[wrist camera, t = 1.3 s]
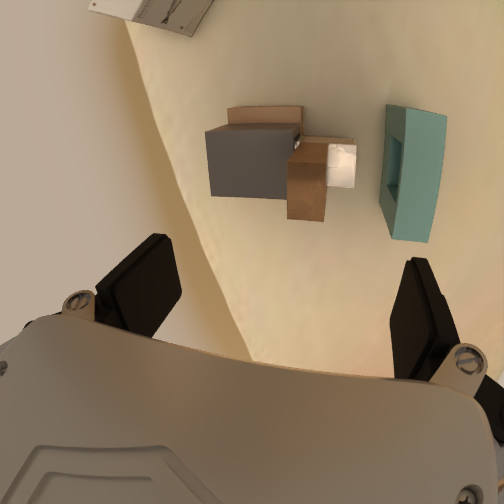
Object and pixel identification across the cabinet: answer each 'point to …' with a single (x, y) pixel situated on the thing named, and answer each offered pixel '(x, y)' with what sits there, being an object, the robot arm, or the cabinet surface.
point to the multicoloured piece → (317, 174)
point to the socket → (411, 171)
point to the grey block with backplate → (253, 151)
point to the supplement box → (156, 12)
